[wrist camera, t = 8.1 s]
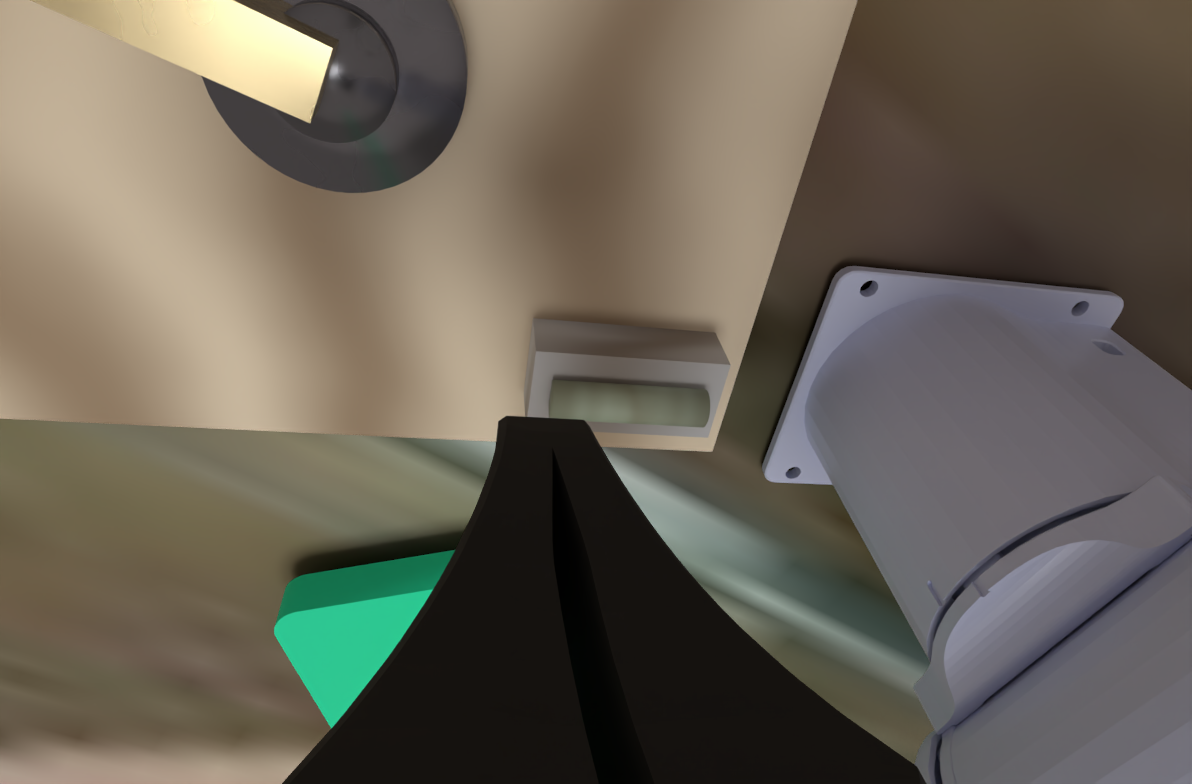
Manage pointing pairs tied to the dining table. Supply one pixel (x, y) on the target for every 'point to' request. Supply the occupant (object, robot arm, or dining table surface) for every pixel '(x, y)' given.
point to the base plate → (412, 232)
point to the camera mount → (351, 623)
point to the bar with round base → (312, 77)
